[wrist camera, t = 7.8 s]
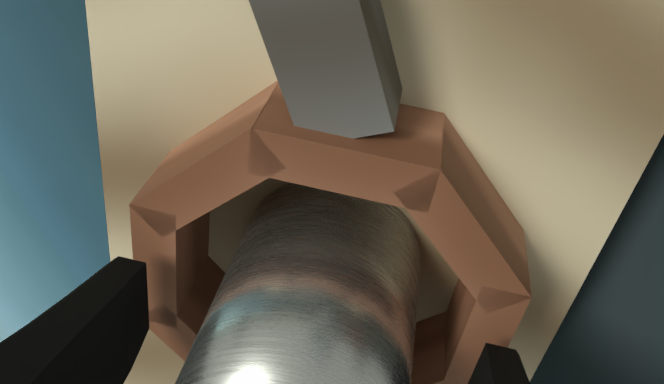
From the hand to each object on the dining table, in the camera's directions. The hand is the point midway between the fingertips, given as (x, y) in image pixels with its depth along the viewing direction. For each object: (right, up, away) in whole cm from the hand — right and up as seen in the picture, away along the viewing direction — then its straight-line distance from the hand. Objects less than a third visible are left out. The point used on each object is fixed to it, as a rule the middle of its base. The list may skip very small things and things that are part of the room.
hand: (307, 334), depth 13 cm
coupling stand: (+1, +2, +3) cm, 4 cm away
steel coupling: (+1, +1, +3) cm, 3 cm away
